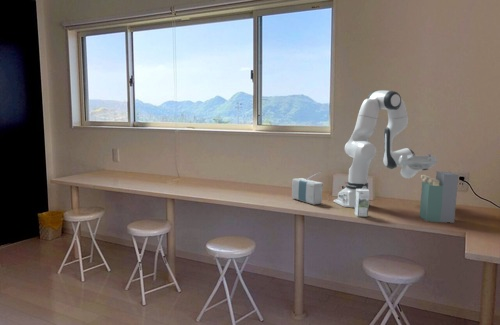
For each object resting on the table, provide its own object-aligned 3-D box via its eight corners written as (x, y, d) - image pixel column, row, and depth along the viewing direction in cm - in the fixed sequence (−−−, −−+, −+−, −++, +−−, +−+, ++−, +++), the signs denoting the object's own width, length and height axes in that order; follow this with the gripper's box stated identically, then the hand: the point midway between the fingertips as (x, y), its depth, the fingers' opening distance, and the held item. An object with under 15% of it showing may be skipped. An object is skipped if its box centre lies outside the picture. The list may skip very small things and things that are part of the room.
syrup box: (364, 214, 219) (366, 188, 218) (368, 217, 214) (369, 190, 212) (354, 214, 219) (355, 188, 217) (357, 217, 213) (359, 190, 212)
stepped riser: (419, 216, 217) (422, 170, 214) (446, 217, 216) (450, 171, 213) (426, 221, 207) (429, 173, 204) (454, 222, 206) (458, 174, 203)
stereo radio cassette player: (291, 199, 255) (292, 167, 253) (301, 197, 260) (302, 167, 257) (313, 205, 238) (314, 172, 235) (323, 204, 242) (325, 171, 240)
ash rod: (420, 179, 223) (421, 174, 223) (425, 179, 223) (425, 175, 223) (433, 185, 204) (434, 180, 204) (439, 185, 204) (439, 180, 204)
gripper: (395, 158, 241) (402, 149, 228) (431, 159, 239) (439, 150, 226) (396, 168, 238) (403, 159, 226) (432, 169, 237) (440, 160, 224)
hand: (421, 155), depth 226 cm, fingers open, 8 cm apart
